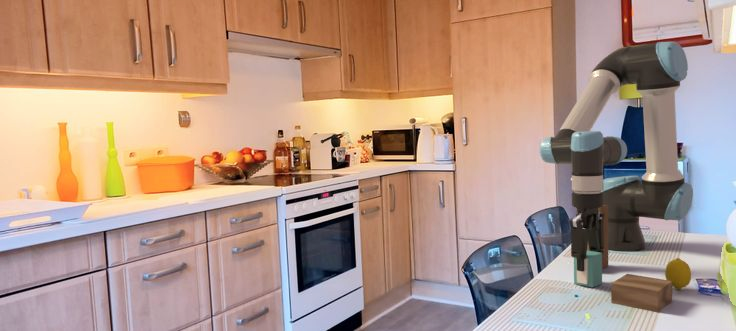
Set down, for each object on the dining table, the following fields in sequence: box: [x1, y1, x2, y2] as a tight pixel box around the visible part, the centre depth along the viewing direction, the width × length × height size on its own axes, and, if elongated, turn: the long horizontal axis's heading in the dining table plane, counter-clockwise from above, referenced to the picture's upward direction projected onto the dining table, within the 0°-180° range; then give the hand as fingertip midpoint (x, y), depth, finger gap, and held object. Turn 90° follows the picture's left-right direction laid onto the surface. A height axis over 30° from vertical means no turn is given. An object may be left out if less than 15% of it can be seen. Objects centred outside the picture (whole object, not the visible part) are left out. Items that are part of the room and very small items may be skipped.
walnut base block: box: [610, 273, 673, 313], centre depth 126 cm, size 10×10×5 cm
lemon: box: [664, 257, 692, 291], centre depth 133 cm, size 6×6×8 cm
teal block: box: [573, 251, 603, 288], centre depth 140 cm, size 5×5×8 cm
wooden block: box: [587, 205, 609, 270], centre depth 154 cm, size 9×4×18 cm, turn 131°
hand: (588, 280), depth 141 cm, fingers closed on teal block, 5 cm apart
